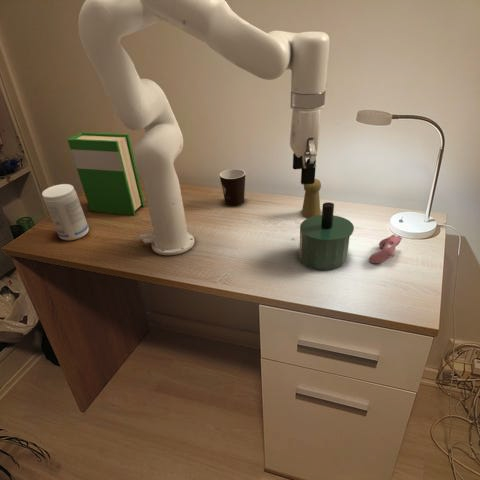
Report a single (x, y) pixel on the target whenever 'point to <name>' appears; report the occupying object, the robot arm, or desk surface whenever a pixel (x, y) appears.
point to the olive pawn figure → (311, 200)
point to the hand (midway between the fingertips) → (303, 175)
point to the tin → (323, 253)
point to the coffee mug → (233, 186)
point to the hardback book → (107, 172)
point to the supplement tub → (65, 211)
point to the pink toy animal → (386, 249)
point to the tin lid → (327, 226)
